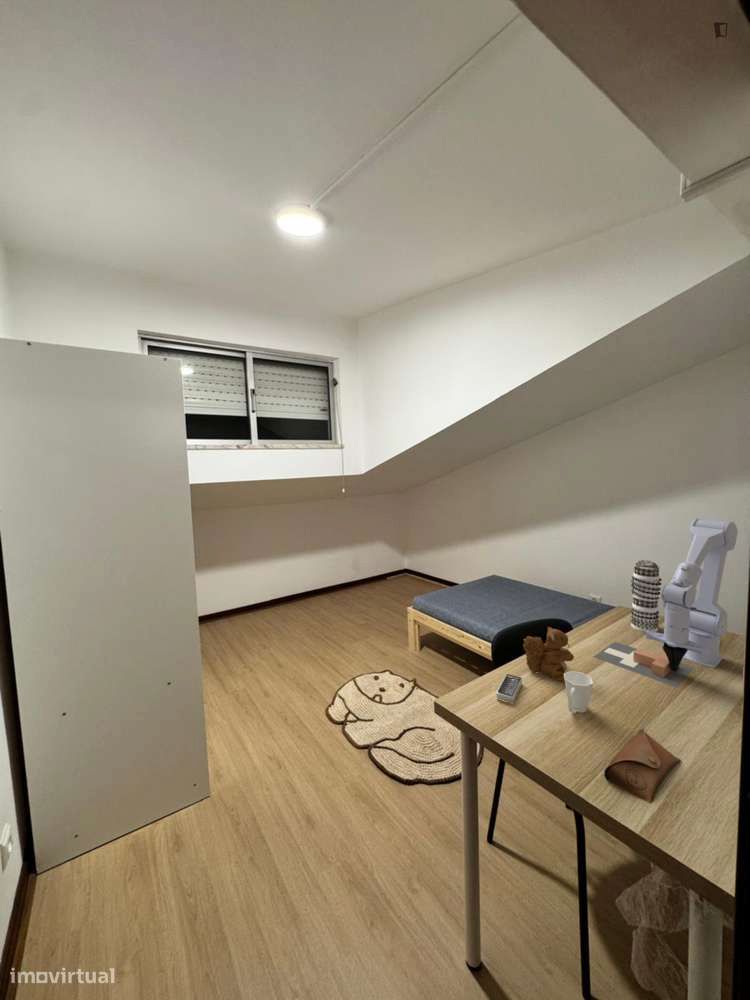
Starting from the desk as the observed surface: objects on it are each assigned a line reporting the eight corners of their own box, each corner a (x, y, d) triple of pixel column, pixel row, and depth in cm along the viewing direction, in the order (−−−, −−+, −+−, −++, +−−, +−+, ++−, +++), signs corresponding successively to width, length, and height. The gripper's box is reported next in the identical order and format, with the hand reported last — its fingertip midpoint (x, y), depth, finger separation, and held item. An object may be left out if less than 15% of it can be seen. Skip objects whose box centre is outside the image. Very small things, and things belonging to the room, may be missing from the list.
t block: (641, 654, 126) (641, 645, 126) (675, 665, 119) (675, 656, 119) (628, 665, 120) (629, 655, 120) (663, 677, 113) (664, 667, 113)
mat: (614, 642, 135) (614, 641, 135) (694, 668, 118) (694, 667, 118) (593, 658, 126) (593, 656, 126) (676, 688, 108) (676, 687, 108)
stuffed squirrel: (574, 684, 112) (575, 640, 110) (522, 675, 117) (522, 633, 116) (571, 666, 121) (572, 626, 120) (523, 659, 126) (523, 620, 125)
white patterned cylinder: (661, 634, 140) (664, 566, 137) (630, 629, 144) (632, 563, 142) (658, 624, 148) (660, 560, 145) (629, 620, 152) (631, 557, 150)
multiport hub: (496, 700, 106) (495, 692, 106) (506, 680, 115) (506, 673, 115) (512, 705, 104) (512, 697, 104) (522, 685, 113) (522, 677, 113)
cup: (596, 706, 102) (597, 677, 101) (585, 726, 94) (585, 694, 94) (567, 695, 107) (568, 667, 106) (554, 714, 99) (555, 684, 98)
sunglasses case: (652, 806, 72) (632, 767, 75) (616, 802, 78) (598, 765, 80) (682, 758, 83) (664, 725, 86) (649, 758, 89) (632, 726, 91)
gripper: (642, 621, 117) (641, 664, 118) (704, 638, 105) (701, 685, 107) (651, 615, 121) (649, 656, 122) (711, 630, 109) (709, 676, 111)
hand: (674, 669), depth 115 cm, fingers closed
